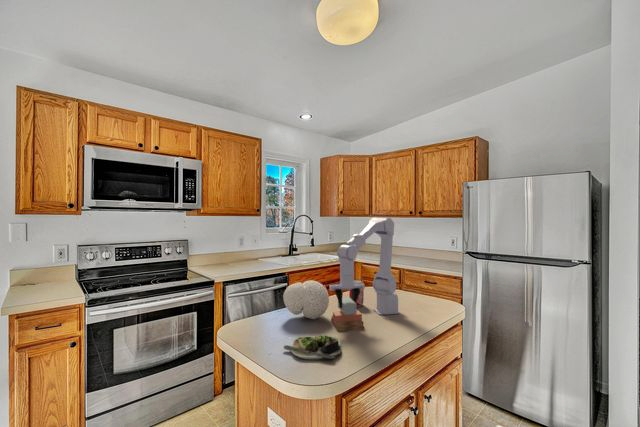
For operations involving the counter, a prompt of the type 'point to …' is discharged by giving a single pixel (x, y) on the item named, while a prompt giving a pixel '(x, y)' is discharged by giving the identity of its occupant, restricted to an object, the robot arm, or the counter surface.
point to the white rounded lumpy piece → (306, 299)
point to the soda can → (360, 296)
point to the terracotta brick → (346, 317)
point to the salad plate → (315, 347)
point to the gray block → (348, 306)
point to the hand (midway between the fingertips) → (347, 307)
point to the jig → (349, 325)
